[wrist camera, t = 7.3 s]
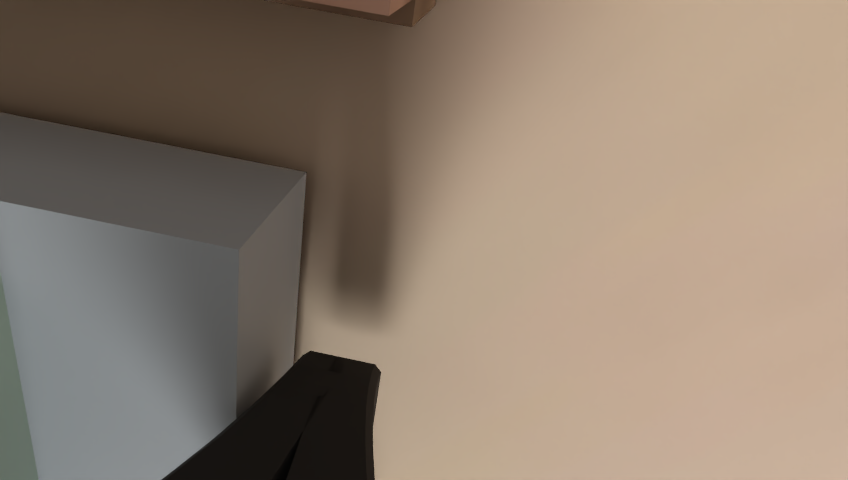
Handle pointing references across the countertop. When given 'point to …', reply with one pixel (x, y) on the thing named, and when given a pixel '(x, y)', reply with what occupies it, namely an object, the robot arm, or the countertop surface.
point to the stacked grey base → (136, 298)
